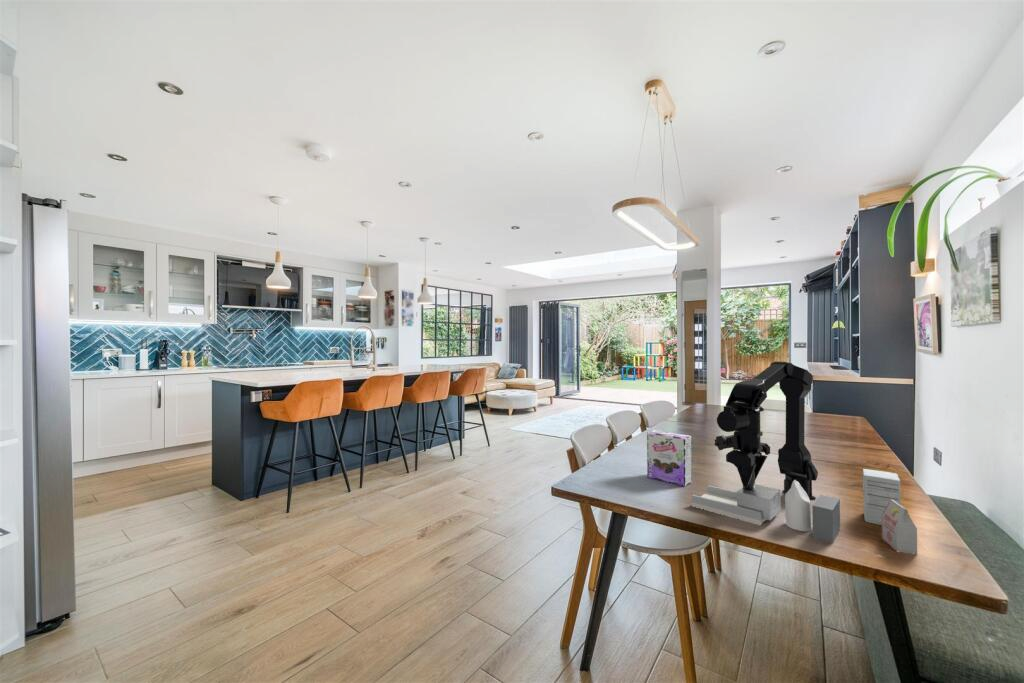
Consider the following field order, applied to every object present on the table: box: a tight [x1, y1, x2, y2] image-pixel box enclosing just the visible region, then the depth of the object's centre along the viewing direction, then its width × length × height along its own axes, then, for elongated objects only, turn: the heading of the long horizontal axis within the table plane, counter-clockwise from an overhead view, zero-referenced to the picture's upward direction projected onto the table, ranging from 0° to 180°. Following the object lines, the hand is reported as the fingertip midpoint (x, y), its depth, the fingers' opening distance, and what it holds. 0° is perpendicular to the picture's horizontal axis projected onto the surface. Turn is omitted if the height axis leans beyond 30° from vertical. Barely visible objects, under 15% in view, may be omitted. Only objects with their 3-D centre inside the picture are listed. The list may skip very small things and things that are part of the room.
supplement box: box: [862, 468, 902, 526], centre depth 111 cm, size 7×7×13 cm
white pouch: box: [784, 480, 812, 532], centre depth 108 cm, size 6×12×6 cm
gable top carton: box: [881, 499, 918, 555], centre depth 97 cm, size 4×7×10 cm, turn 160°
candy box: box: [646, 429, 692, 487], centre depth 145 cm, size 14×6×16 cm, turn 45°
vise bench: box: [691, 484, 841, 544], centre depth 114 cm, size 33×13×8 cm, turn 44°
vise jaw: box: [736, 471, 782, 521], centre depth 114 cm, size 8×10×10 cm
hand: (749, 483), depth 116 cm, fingers open, 6 cm apart
